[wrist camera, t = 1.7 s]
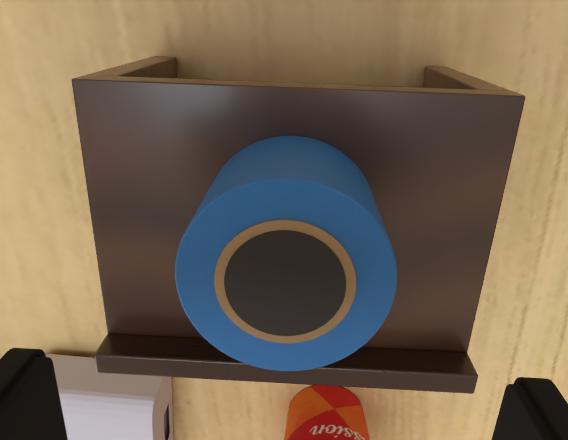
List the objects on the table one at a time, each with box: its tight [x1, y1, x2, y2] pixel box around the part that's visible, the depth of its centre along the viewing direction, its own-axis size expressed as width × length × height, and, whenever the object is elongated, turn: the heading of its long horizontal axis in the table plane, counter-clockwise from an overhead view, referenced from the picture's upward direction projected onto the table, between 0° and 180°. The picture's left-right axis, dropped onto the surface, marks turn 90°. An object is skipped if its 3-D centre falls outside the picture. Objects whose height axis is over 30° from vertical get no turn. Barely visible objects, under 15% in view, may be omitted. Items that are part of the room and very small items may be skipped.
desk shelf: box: [72, 56, 525, 394], centre depth 23 cm, size 12×16×12 cm
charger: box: [46, 354, 174, 440], centre depth 34 cm, size 5×9×15 cm
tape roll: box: [175, 136, 397, 371], centre depth 16 cm, size 7×7×5 cm
